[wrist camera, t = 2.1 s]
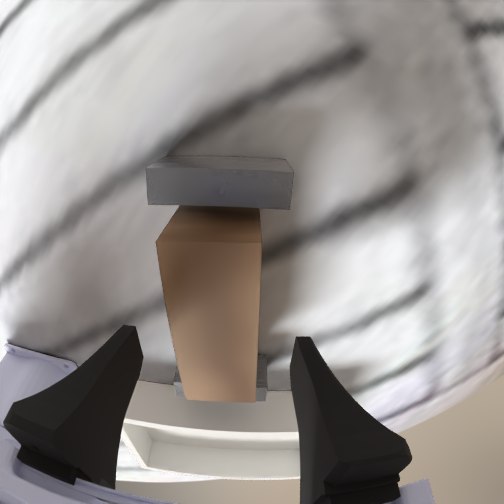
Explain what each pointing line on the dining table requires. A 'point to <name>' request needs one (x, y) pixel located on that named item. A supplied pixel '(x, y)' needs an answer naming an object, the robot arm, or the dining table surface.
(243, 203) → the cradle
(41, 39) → the dining table surface
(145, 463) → the bin
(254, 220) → the wooden block
